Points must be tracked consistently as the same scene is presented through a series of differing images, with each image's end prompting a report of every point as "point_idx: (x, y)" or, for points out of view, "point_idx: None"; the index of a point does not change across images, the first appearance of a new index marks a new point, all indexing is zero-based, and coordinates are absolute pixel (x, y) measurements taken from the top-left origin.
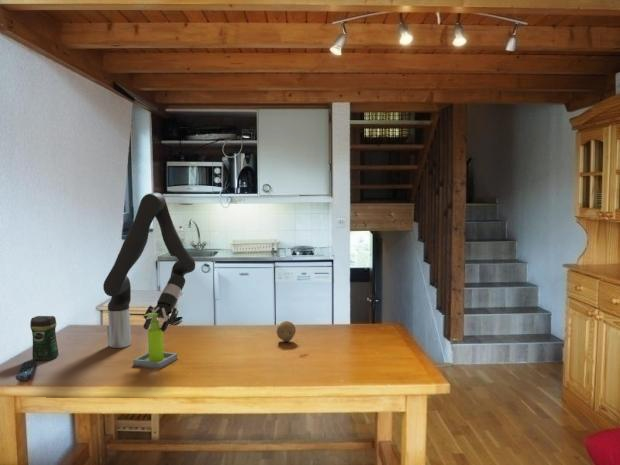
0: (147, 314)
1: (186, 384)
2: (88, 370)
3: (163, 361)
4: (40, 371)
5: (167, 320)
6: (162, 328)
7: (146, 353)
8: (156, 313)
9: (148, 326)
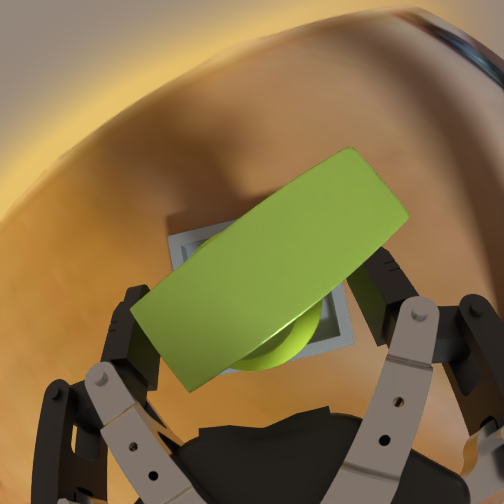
0: (309, 177)
1: (30, 206)
2: (400, 103)
3: (173, 267)
4: (469, 67)
5: (87, 377)
6: (127, 297)
7: (341, 296)
8: (193, 348)
9: (358, 298)
